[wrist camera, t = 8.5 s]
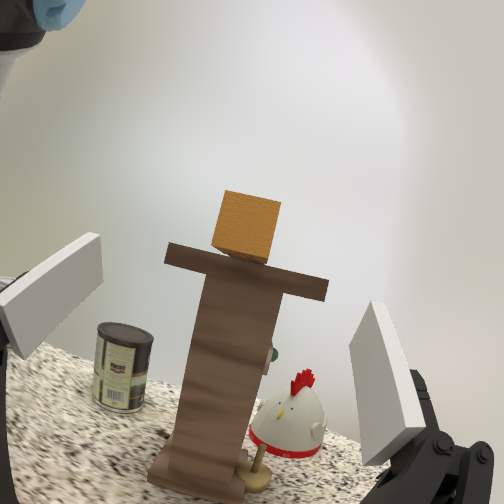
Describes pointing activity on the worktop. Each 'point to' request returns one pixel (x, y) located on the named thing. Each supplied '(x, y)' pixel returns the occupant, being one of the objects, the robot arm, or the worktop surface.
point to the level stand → (225, 375)
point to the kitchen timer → (291, 420)
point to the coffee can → (121, 367)
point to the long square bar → (246, 227)
